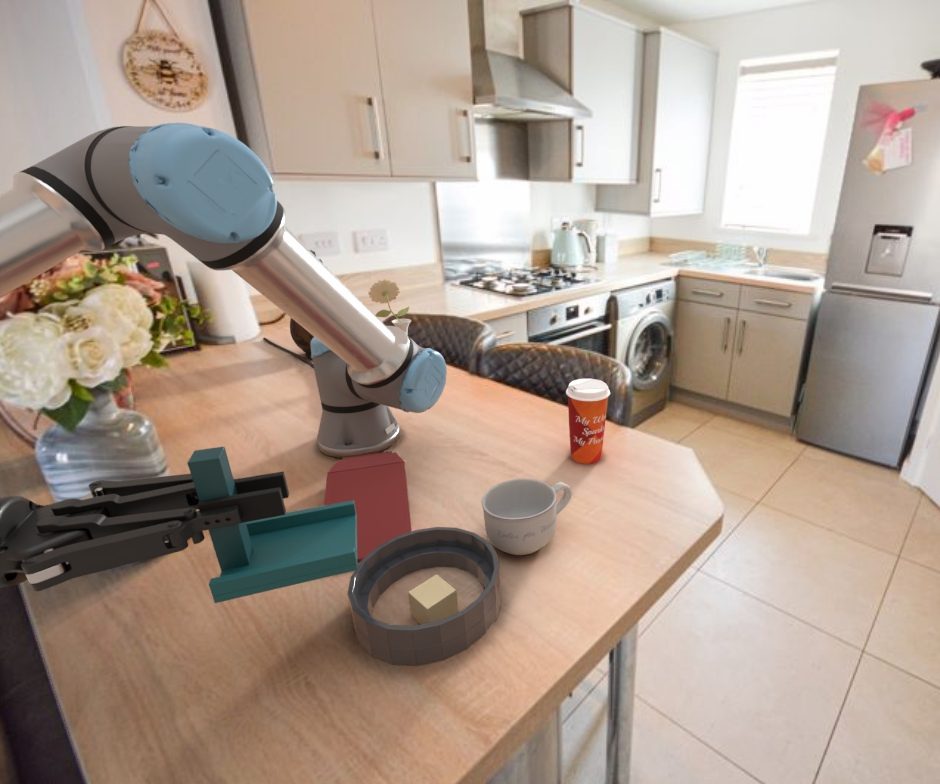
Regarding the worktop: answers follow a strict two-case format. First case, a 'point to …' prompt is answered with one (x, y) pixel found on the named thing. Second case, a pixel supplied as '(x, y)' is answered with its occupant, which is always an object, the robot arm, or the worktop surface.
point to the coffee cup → (587, 418)
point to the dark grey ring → (410, 557)
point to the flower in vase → (385, 294)
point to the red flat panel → (372, 496)
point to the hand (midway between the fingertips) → (283, 492)
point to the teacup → (522, 514)
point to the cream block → (433, 600)
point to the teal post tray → (273, 538)
